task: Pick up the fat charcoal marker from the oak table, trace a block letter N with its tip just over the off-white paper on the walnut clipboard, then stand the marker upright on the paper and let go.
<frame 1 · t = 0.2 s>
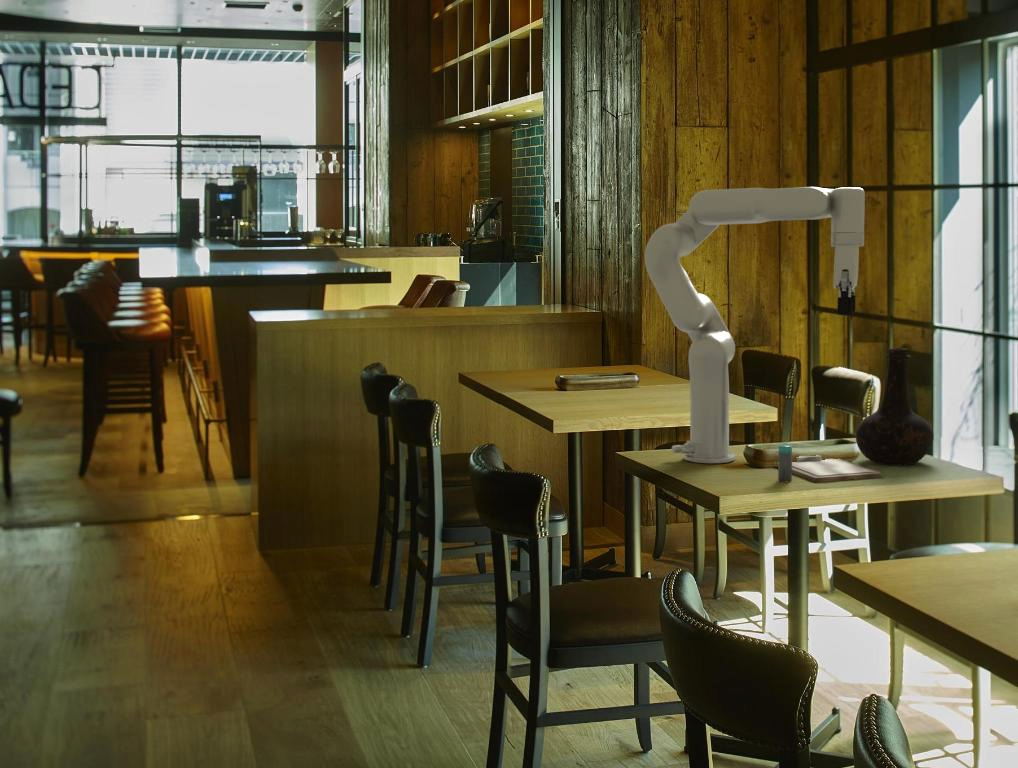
hand: (846, 313, 298), 37 cm above the table, tool pointing down, fingers open, 9 cm apart
glass bottle: (893, 463, 306), on the table
writing board: (826, 471, 296), on the table
marker: (784, 480, 287), on the table
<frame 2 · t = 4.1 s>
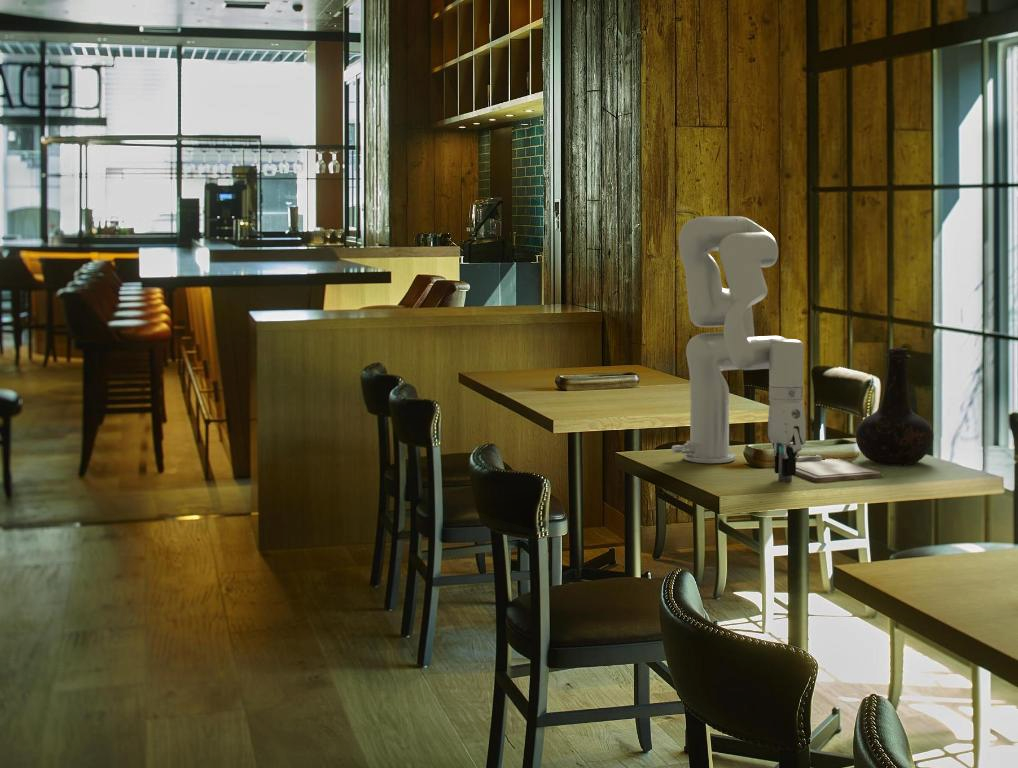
hand: (785, 473, 286), 2 cm above the table, tool pointing down, fingers closed on marker, 2 cm apart
marker: (785, 480, 287), on the table, touching gripper
everything else where it was.
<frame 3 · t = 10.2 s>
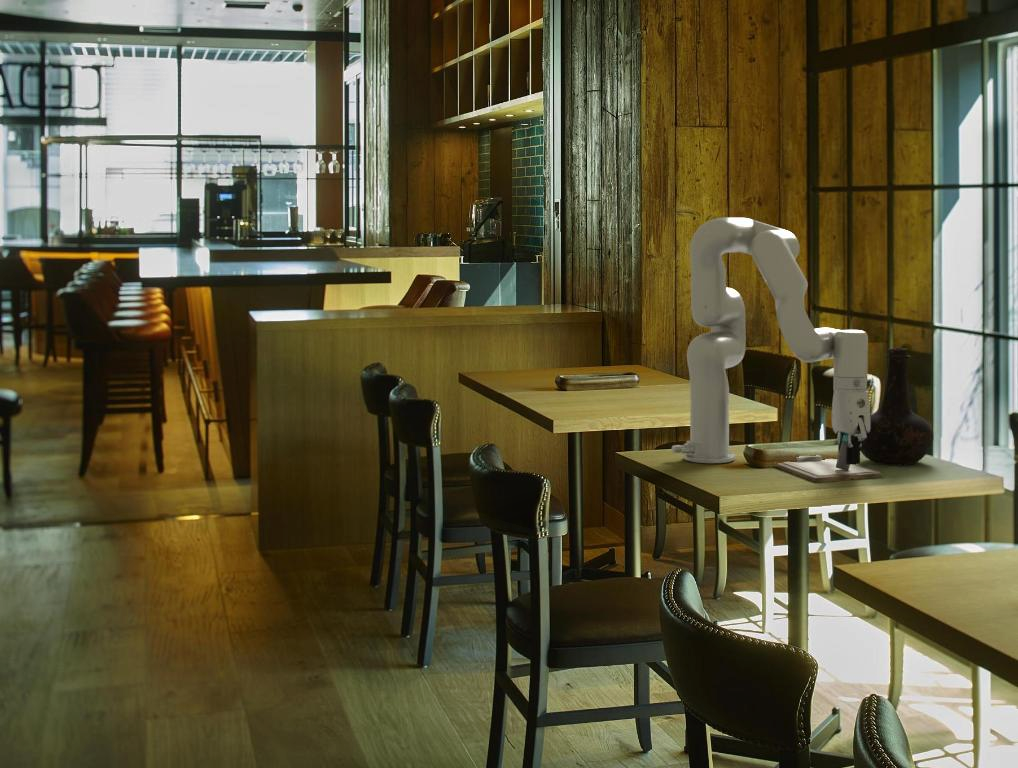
hand: (848, 461, 292), 3 cm above the table, tool pointing down, fingers closed on marker, 3 cm apart
marker: (842, 468, 291), point 2 cm above the table, tilted 14°, touching gripper
everything else where it was.
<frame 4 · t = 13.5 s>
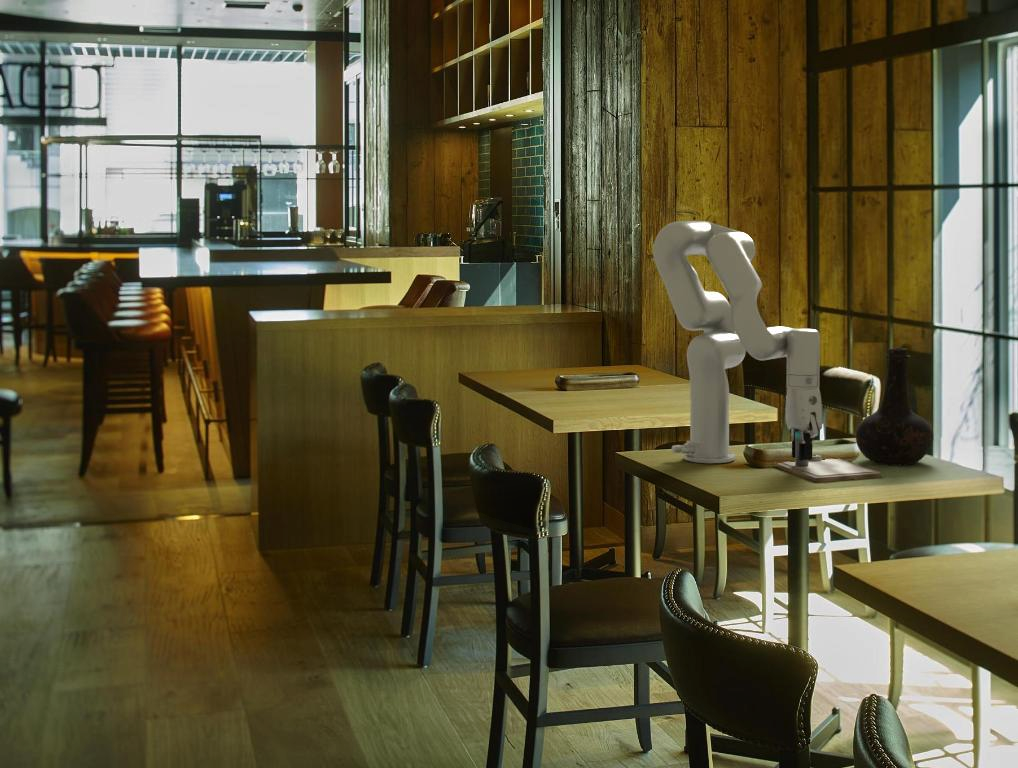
hand: (801, 457, 298), 3 cm above the table, tool pointing down, fingers closed on marker, 2 cm apart
marker: (801, 465, 298), point 1 cm above the table, touching gripper
everything else where it was.
when the fingers open (4 cm above the table, at t = 16.6 s): marker stays where it is, resting on writing board.
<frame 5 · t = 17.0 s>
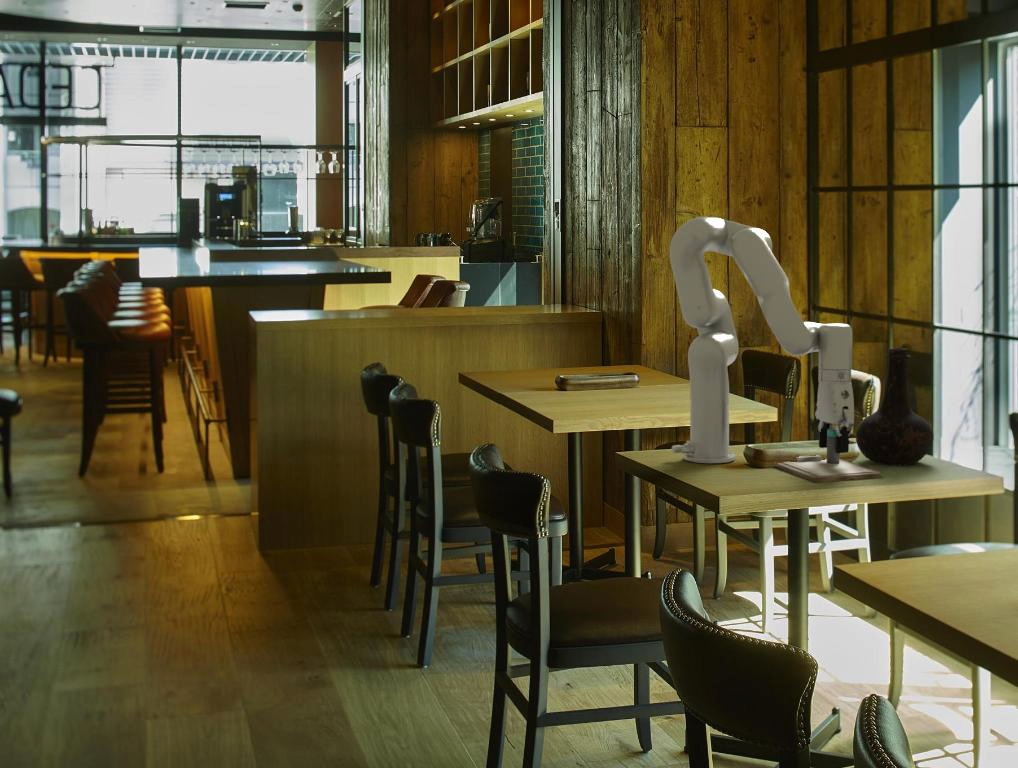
hand: (833, 449, 300), 4 cm above the table, tool pointing down, fingers open, 7 cm apart
marker: (832, 462, 301), point 1 cm above the table, touching writing board
everything else where it was.
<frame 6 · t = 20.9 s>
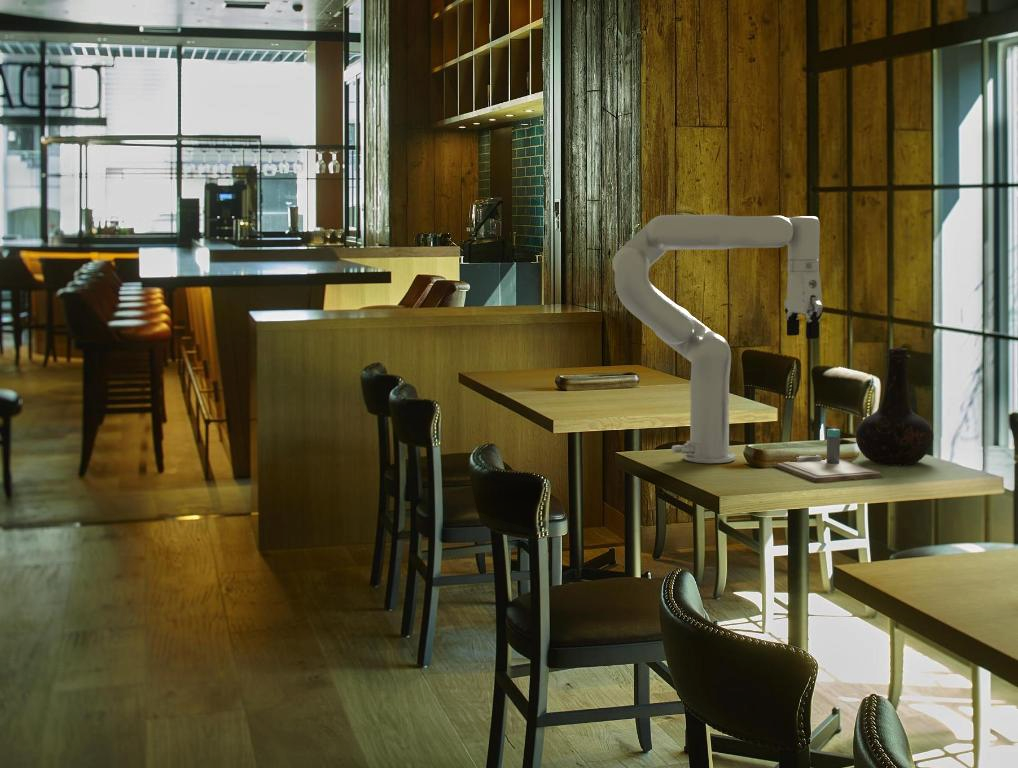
hand: (802, 336, 310), 30 cm above the table, tool pointing down, fingers open, 9 cm apart
nothing on the table moved.
at the end: marker inside the target area on the writing board (0.6 cm from its centre), point 1.2 cm above the writing board's base; marker tilted 0°; the gripper is holding nothing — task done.
